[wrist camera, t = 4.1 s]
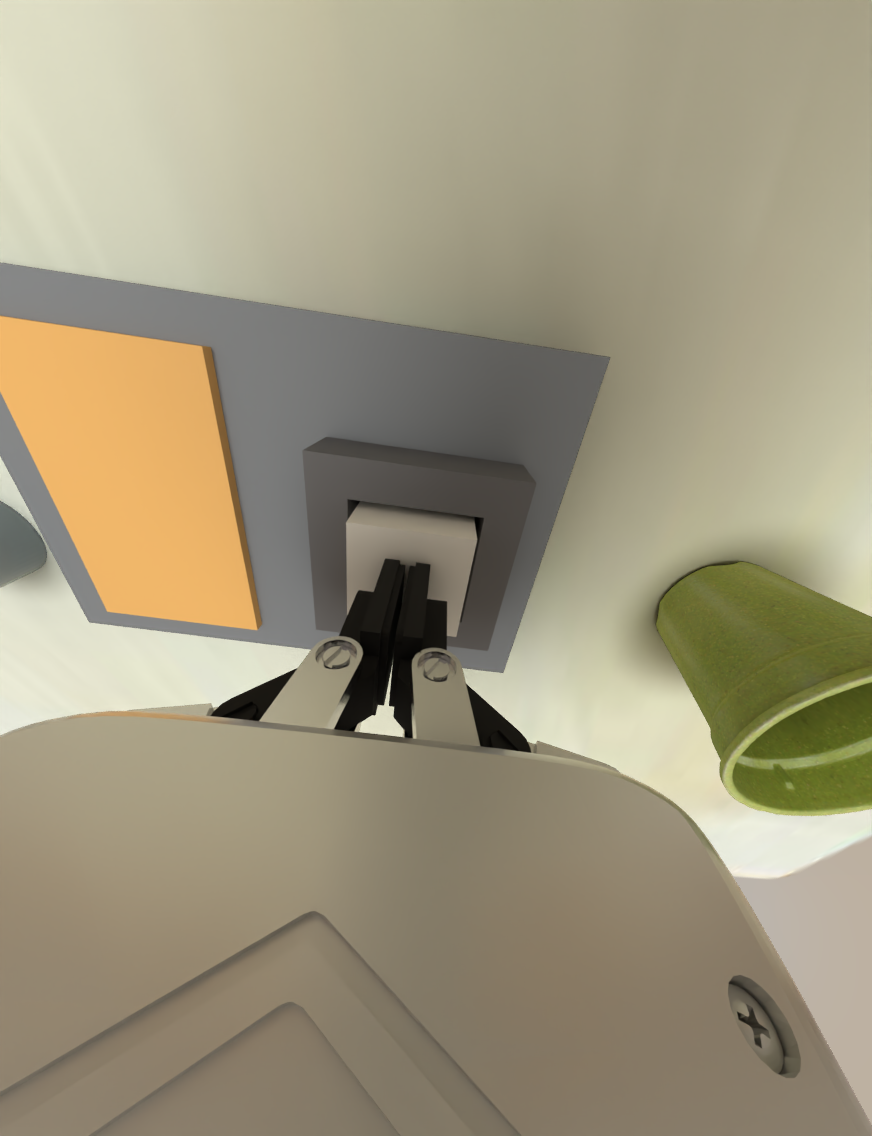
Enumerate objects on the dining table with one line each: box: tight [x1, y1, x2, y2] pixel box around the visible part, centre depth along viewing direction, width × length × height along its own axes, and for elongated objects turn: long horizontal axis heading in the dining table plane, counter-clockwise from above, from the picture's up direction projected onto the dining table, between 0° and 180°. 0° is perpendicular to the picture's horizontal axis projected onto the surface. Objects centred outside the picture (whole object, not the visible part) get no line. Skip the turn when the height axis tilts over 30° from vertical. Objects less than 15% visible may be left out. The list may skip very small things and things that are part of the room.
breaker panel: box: [0, 263, 610, 673], centre depth 15 cm, size 24×16×4 cm, turn 82°
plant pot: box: [656, 562, 872, 816], centre depth 16 cm, size 9×9×9 cm
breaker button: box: [346, 501, 477, 637], centre depth 14 cm, size 4×4×3 cm
